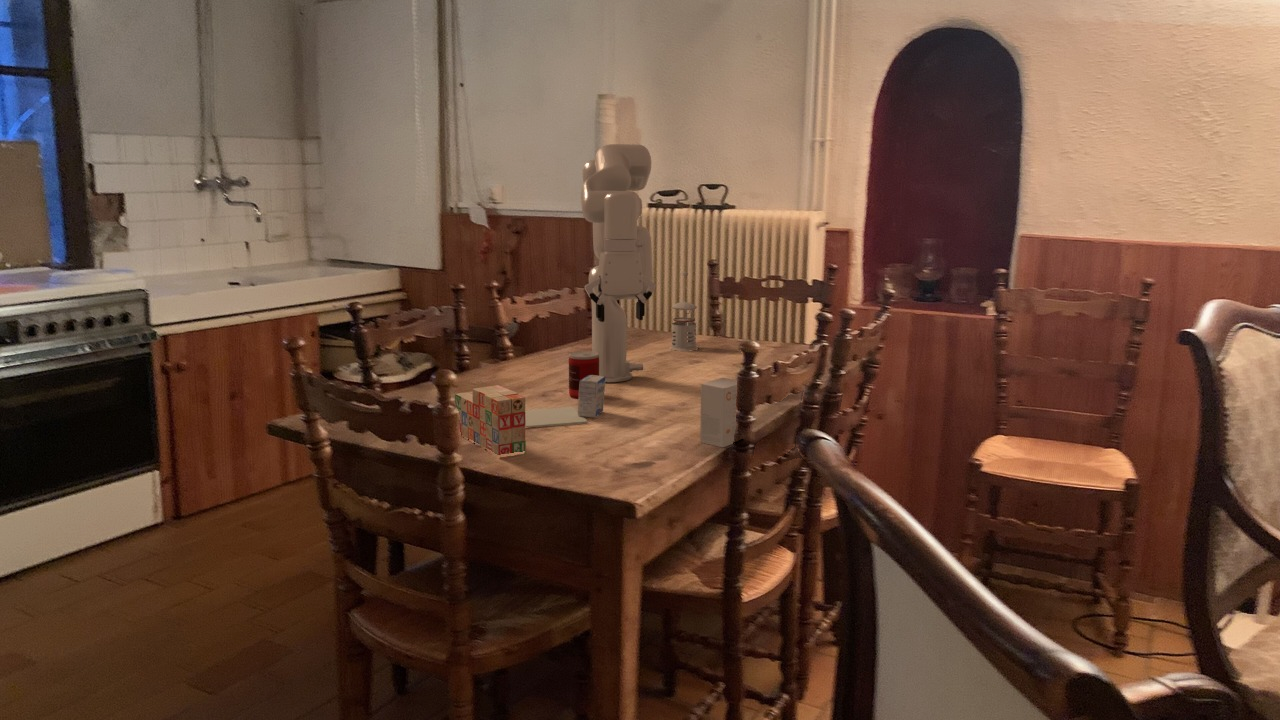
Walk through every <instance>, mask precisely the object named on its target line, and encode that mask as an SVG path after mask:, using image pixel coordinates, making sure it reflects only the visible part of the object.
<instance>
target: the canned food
mask: <svg viewBox="0 0 1280 720" xmlns="http://www.w3.org/2000/svg"><path fill="white" fill-rule="evenodd" d="M588 375H597V376H599V353H597V352H592V350H590V351H588V350H583V351H582V350H581V351H579V350H578V351H573V352H570V353H569V354H568V395H569V397H570V398H572V399H575V400H576V399H577V400H578V399H579V384H580V381H581V380H582V379H584V378H585V377H587V376H588Z"/></svg>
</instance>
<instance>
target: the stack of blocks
mask: <svg viewBox="0 0 1280 720" xmlns="http://www.w3.org/2000/svg"><path fill="white" fill-rule="evenodd" d="M454 401H455V405H456V406H455V408H456V407H457V409H458V411H459V415H460V432H461V436H460V437H462V435H463V437H466V438H468V439H471V440H473V441H474V442H476V443H478V444H480V445H482V446H483V447H485V448H487V449H489V450H491V451H492V452H494V453H495V454H497V455H501V454H509V453H514V452H523V451H527V450H526V443H527V442H526V428H525V425H526V421H525V410H526V396H523V395H521V394H519V393H518V392H516V391H514V390H511V389H508V388H506V387H503V386H502V385H499V384H496V385H490V386H483V387H476V388H472V391H468V392H459V393H455V394H454ZM463 437H462V438H463Z"/></svg>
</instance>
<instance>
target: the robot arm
mask: <svg viewBox="0 0 1280 720" xmlns="http://www.w3.org/2000/svg"><path fill="white" fill-rule="evenodd" d="M651 170H652V156H651V154H650V151H649V150H648V148H647V147H646V146H645V145H643V144H631V143H630V144H626V143H625V144H624V143H623V144H621V143H618V144H615V143H612V144H606V145H602V146H601V147H600V148H598V149H597V151H596V154H595V156H594V159H591V160H588V161H587V162H585V163H584V165H583V168H582V182H583V185H582V187H581V192H580V201H581V203H580V205H581V212H582V216H583V218H584V219H585V221H587V222H589V223H592V243H593V247H592V248H593V252H594V255H595V257H596V258H597V259H598V261H599V262H598V265H596V266H594V267H592V268H591V269H590V271H589V272H588V273H589V274H588V283H587V284H585V285H584V290H585V291H586V294H587V295H588V297H589V298H590V301H591V351H592V352H597V353H599V376H604V377H605V383H623V382H626V381H629V380H631V379H632V377H633V374H632V372H633V371H636V372H638V371H644V364H643V363H636V362H629V361H628V360H627V326H628V325H627V324H628V323H627V315H626V312H625V310H624V308H623V307H622V306H621V305H620V304H619V303H618V301H619V300H637V301H636V303H635V318H636V319H637V320H639V321H644V320H643V319H644V317H645V315H646V313H645V310H646V309H645V307H646V303H647V301H648V300H649V299H650V298H651V297H652V295H653V293H654V291H655V289H656V287H657V284H656V283H655V282H654V276H653V275H654V274H653V270H654V269H653V250H652V249H653V247H652V245H653V244H652V238H651V234H650V231H649V230H648V228H647V227H646V226H642V225H638V220H639V218H640V216H641V215H642V214H643V200H642V198H641V197H640V195H639V194H638V193H637V191H642V190H644V189H645V187H646V186H647V184H648V180H649V177H650V175H651ZM635 191H636V192H635Z"/></svg>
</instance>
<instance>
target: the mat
mask: <svg viewBox="0 0 1280 720" xmlns="http://www.w3.org/2000/svg"><path fill="white" fill-rule="evenodd" d="M525 421H526V425H525V427H536V428H543V427H542V426H548V427H558V426H559V427H560V426H571V425H573V426H574V425H582V424H583V425H585V424H589V422H588V419H586V417H583V416H578V409H576V408H575V407H574V406H564V407H552V408H551V407H550V408H549V407H548V408H536V409H525Z"/></svg>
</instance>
